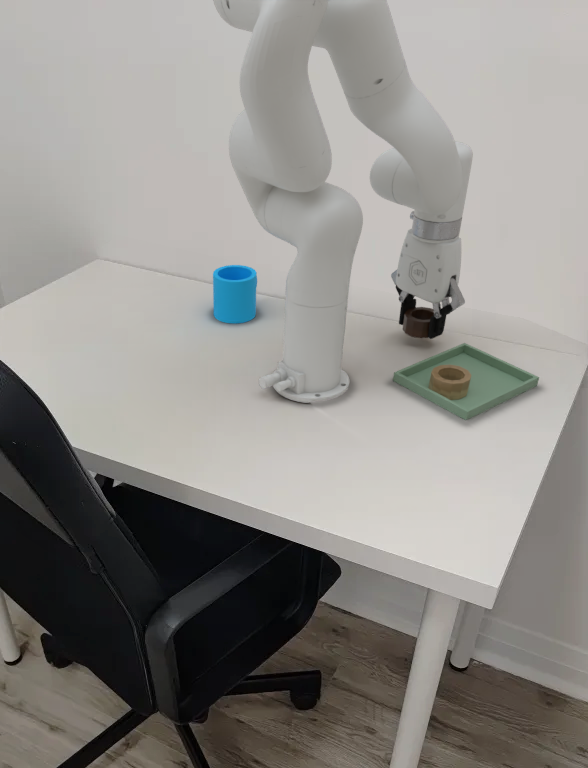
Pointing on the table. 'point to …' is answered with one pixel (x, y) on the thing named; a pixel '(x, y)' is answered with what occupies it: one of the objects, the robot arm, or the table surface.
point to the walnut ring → (417, 321)
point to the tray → (487, 383)
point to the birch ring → (450, 381)
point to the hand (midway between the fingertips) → (420, 328)
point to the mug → (234, 293)
